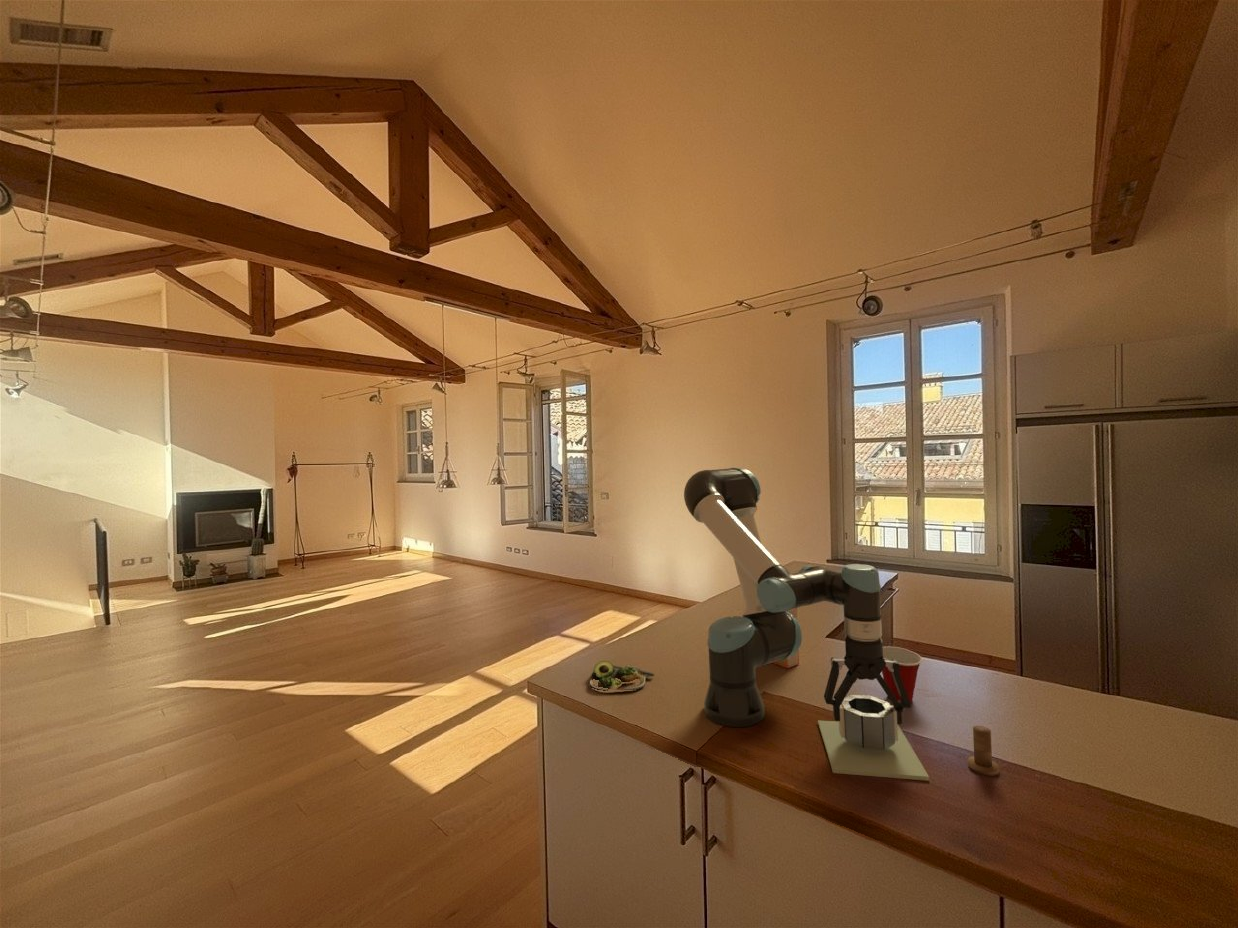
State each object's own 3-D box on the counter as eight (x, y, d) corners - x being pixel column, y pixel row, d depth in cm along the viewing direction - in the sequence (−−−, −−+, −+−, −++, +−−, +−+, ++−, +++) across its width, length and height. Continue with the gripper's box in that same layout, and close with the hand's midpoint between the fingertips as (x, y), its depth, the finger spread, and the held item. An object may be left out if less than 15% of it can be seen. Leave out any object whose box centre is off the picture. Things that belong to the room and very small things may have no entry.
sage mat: (833, 772, 107) (832, 768, 107) (818, 723, 127) (817, 720, 127) (929, 780, 104) (929, 776, 103) (898, 728, 123) (898, 725, 123)
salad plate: (654, 668, 165) (654, 654, 165) (654, 694, 147) (654, 678, 147) (594, 670, 166) (593, 655, 166) (587, 695, 149) (586, 679, 148)
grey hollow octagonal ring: (848, 747, 111) (847, 715, 111) (839, 723, 121) (838, 694, 121) (899, 751, 109) (898, 718, 109) (886, 726, 119) (884, 696, 119)
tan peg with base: (974, 774, 105) (973, 734, 105) (963, 759, 110) (962, 721, 110) (1004, 776, 104) (1002, 736, 104) (991, 761, 109) (990, 723, 109)
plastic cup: (911, 712, 130) (909, 665, 130) (869, 697, 139) (867, 652, 139) (932, 699, 136) (930, 654, 136) (890, 685, 145) (889, 643, 145)
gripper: (811, 640, 114) (816, 741, 114) (925, 643, 109) (930, 749, 109) (807, 629, 121) (811, 724, 121) (913, 631, 116) (918, 730, 116)
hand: (867, 736), depth 115 cm, fingers closed on grey hollow octagonal ring, 10 cm apart
